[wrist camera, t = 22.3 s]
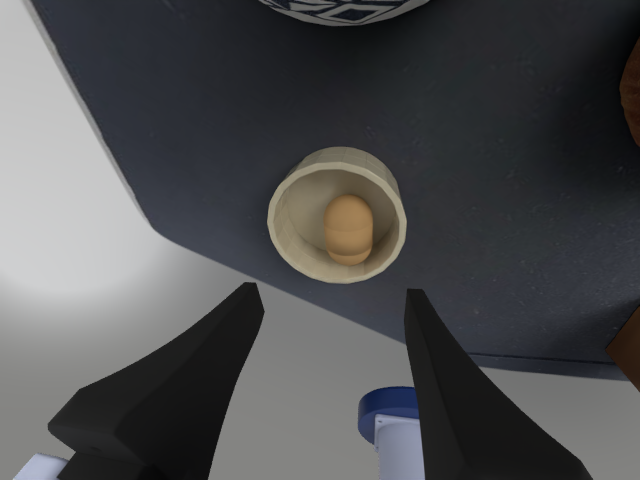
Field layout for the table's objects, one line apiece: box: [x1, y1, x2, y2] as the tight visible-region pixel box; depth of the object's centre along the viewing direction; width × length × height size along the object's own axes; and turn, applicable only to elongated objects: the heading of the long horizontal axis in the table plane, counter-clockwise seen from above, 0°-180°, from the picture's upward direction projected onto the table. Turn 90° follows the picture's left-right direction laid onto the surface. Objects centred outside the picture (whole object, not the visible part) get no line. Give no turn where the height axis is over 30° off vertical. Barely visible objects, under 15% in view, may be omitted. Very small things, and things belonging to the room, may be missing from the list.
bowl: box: [267, 147, 407, 284], centre depth 17 cm, size 8×8×4 cm
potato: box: [323, 194, 373, 266], centre depth 17 cm, size 5×3×3 cm, turn 6°
